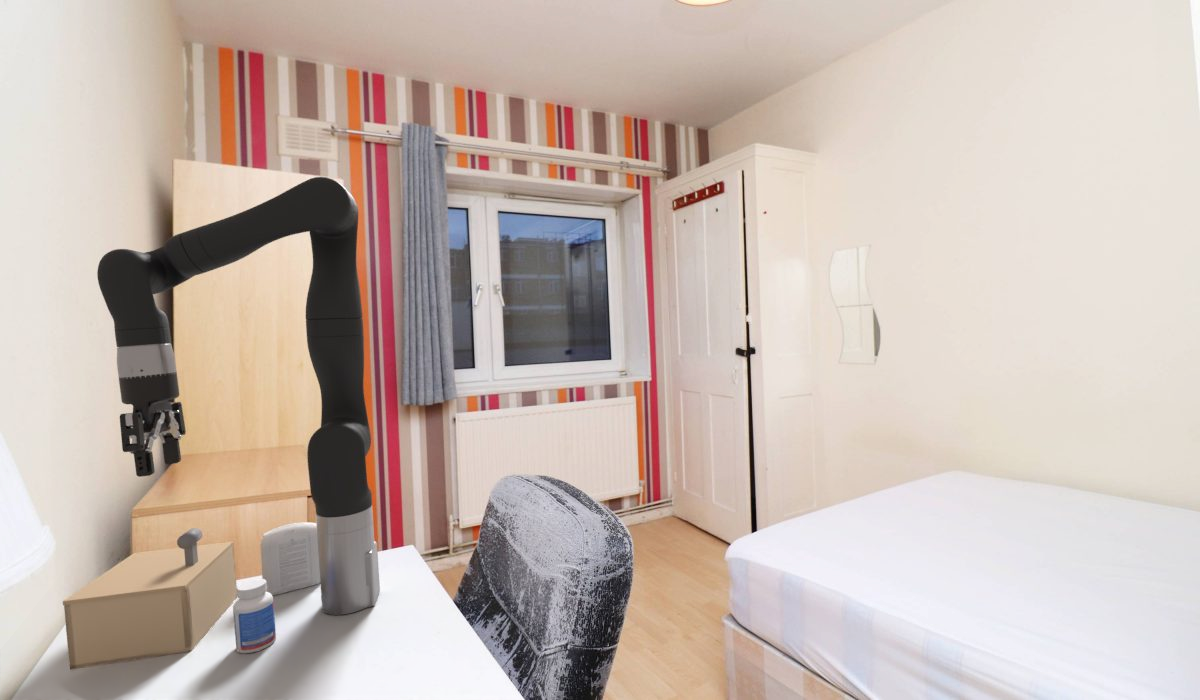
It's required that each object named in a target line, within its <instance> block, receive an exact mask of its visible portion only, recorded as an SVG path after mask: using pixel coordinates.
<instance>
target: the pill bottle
mask: <svg viewBox="0 0 1200 700" xmlns="http://www.w3.org/2000/svg"><path fill="white" fill-rule="evenodd" d="M266 590H267V583H266V580H265V579H262V578H255V579H249V580H247V581H244V582H242V583H240V584H239V585H237V599H236V600H235V601H234V602H233V603H234V604H232V605H233V606H232V612H233V613H232V614H233V623H234V637H235V646H236V651H237V652H238V653H242V654H251V653H256V652H260V651H262V650H264V649H266V648H269V646H271V645H272V644H273V643H274V642H275V641H276V638H277V634H276V632H277V631H276V619H275V618H276V617H275V607H274V606H275V605H274V598H273V597H274V595H272V594H271V593H269V592H266Z"/></svg>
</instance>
